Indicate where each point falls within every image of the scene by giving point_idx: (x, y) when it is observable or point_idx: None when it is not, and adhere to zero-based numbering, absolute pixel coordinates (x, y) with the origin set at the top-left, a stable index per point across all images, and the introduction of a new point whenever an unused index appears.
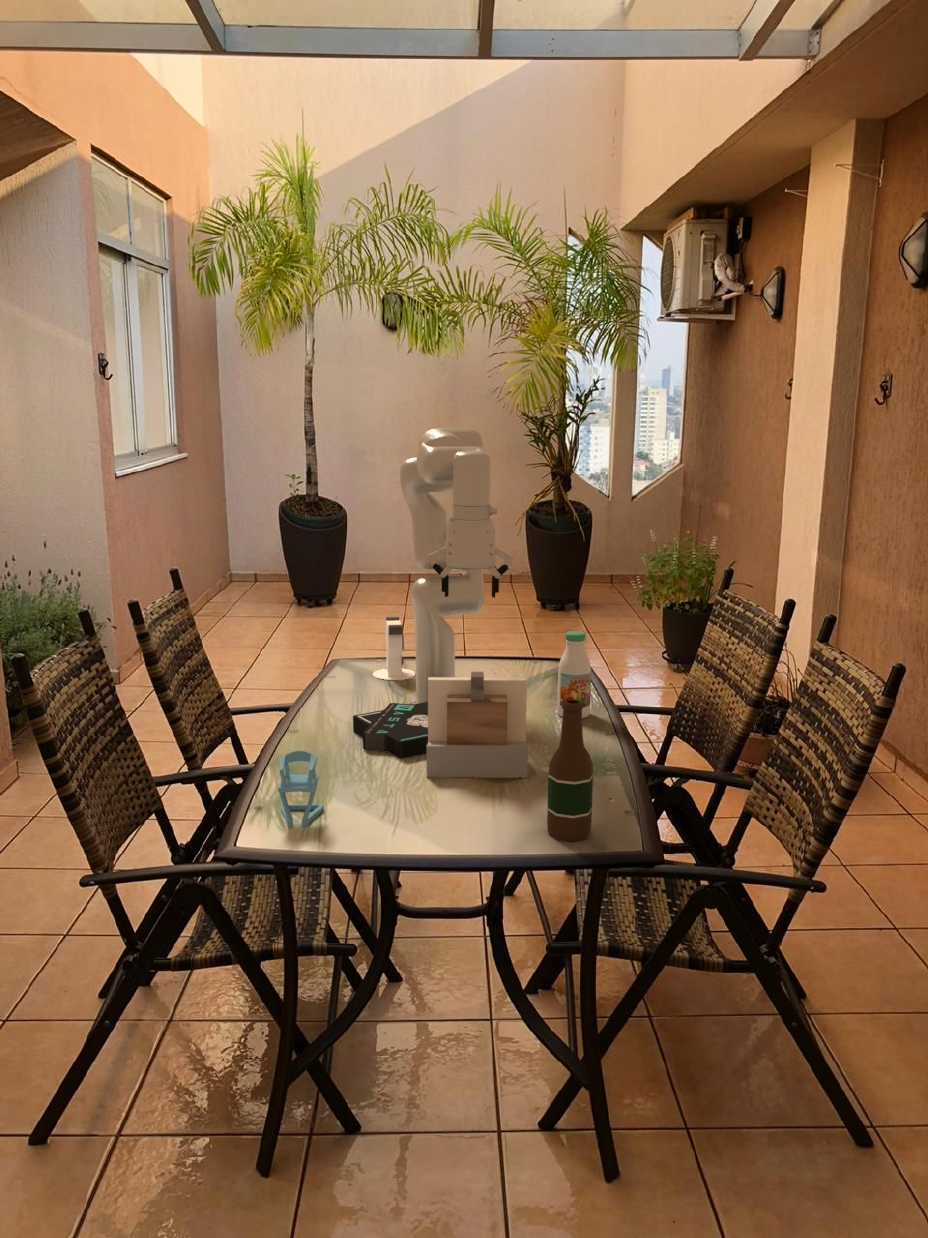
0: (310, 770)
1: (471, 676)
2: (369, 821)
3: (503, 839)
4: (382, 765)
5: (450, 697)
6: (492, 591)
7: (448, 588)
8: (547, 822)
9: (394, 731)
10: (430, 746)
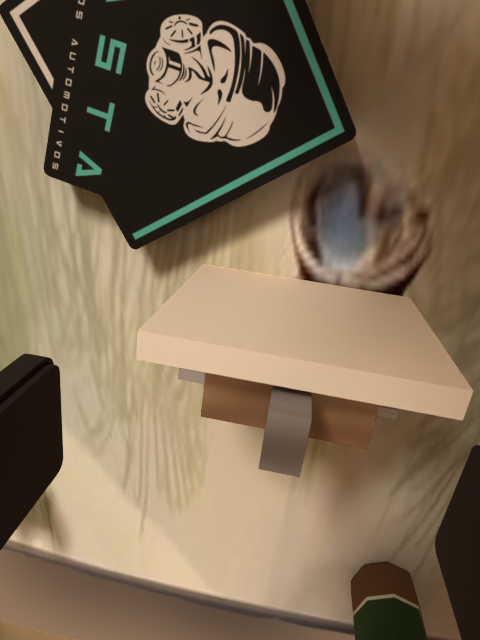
0: None
1: (260, 464)
2: (107, 492)
3: (285, 577)
4: (112, 275)
5: (213, 382)
6: (452, 594)
7: (27, 458)
8: (351, 594)
9: (116, 167)
10: (186, 380)
